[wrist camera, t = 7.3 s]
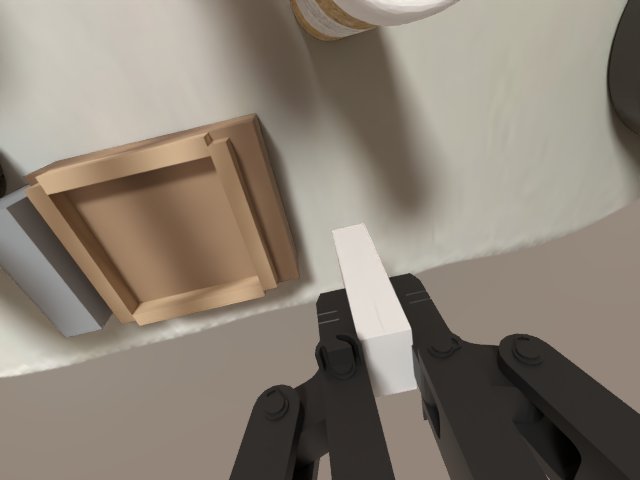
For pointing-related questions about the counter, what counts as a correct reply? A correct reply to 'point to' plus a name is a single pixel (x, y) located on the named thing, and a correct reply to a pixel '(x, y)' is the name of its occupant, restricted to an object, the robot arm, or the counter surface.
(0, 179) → the pillar candle
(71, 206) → the socket block
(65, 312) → the backstop wall
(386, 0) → the sprinkles bottle
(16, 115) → the counter surface
